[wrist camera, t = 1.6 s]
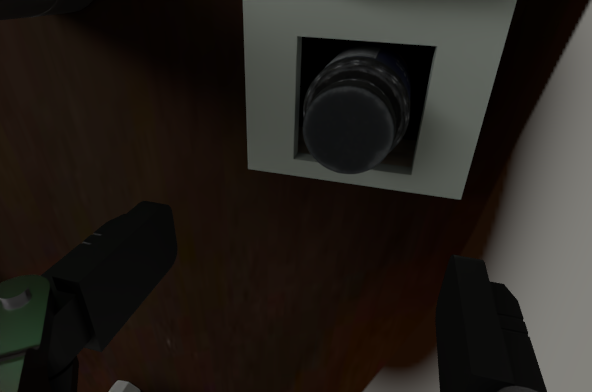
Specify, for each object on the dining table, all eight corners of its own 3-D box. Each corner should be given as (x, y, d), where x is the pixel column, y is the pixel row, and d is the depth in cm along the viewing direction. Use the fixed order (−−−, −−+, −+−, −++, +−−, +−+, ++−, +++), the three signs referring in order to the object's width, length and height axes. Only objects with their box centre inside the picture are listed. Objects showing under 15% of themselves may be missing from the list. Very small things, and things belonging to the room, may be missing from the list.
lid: (253, 162, 28) (224, 196, 24) (246, -173, 19) (197, -217, 15) (458, 190, 25) (468, 235, 21) (561, -185, 16) (617, -244, 12)
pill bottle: (414, 116, 29) (416, 182, 20) (335, 128, 31) (302, 193, 22) (405, 29, 27) (403, 58, 17) (319, 48, 29) (275, 83, 19)
